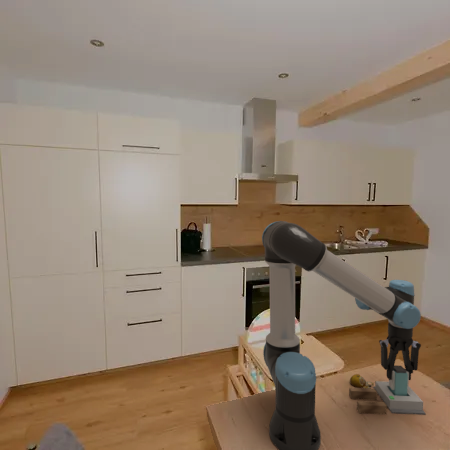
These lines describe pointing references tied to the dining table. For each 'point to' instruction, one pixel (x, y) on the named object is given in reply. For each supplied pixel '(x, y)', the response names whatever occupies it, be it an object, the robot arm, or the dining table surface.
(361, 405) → the pair of wooden rails
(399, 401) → the port
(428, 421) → the dining table surface
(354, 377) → the fruit
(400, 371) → the plug
